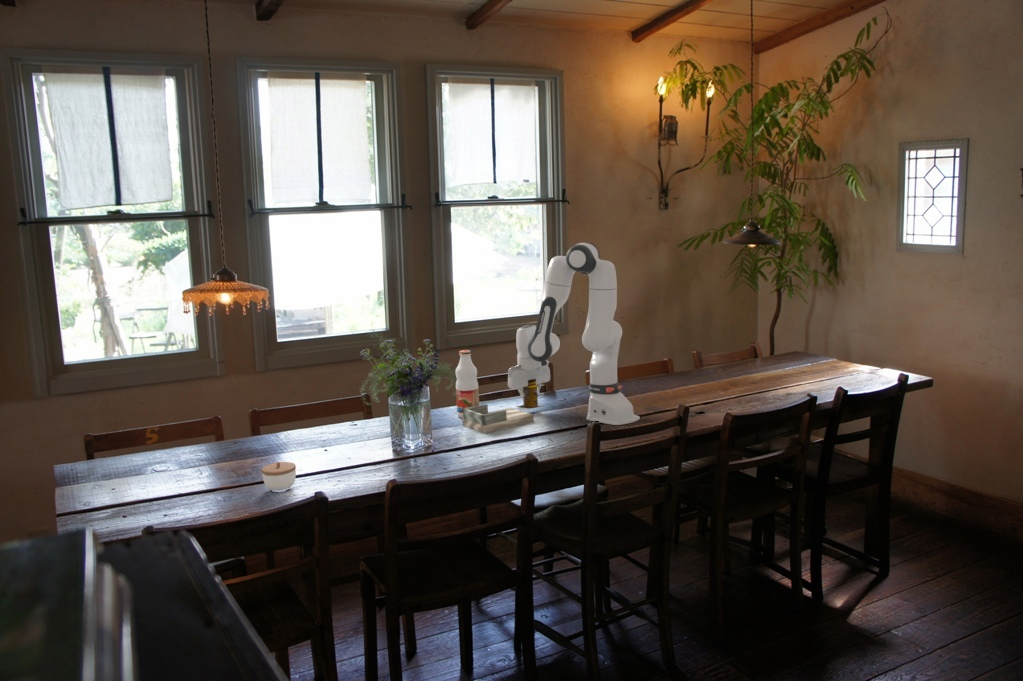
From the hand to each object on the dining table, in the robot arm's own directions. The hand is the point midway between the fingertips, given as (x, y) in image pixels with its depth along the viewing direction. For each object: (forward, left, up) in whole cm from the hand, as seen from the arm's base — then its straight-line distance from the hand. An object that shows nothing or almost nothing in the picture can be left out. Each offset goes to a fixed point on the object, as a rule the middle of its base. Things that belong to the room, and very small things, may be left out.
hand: (530, 395), depth 359 cm
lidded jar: (-19, +117, -8) cm, 118 cm away
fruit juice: (+15, +21, -8) cm, 27 cm away
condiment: (0, +1, -5) cm, 5 cm away
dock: (-4, +19, -8) cm, 21 cm away
